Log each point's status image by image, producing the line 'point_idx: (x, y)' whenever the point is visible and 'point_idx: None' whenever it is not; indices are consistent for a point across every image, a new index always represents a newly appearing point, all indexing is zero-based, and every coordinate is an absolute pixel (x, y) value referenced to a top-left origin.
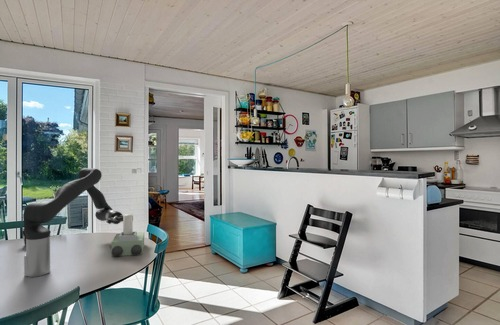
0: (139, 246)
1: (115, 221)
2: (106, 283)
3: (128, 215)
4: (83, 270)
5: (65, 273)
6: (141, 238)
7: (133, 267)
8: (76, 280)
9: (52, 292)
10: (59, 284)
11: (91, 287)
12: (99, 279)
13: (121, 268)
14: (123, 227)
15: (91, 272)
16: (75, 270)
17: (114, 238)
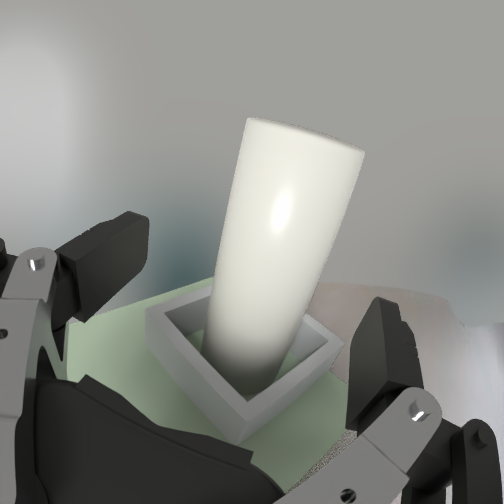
0: None
1: (404, 325)
2: (415, 291)
3: (321, 133)
4: (455, 393)
5: (492, 409)
6: (181, 293)
7: (328, 294)
8: (468, 348)
9: (496, 337)
10: (494, 358)
11: (441, 301)
12: (425, 314)
13: (359, 316)
14: (314, 290)
15: (437, 362)
16: (473, 411)
17: (299, 471)
